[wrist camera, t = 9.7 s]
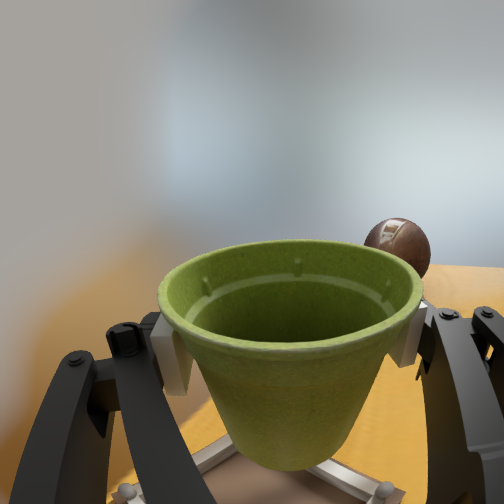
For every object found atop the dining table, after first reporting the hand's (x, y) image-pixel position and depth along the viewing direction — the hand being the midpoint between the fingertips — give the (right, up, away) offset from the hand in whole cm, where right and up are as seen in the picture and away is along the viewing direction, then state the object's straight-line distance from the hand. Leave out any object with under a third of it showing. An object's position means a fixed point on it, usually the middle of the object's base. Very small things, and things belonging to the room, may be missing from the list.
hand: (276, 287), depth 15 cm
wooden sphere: (+29, -6, +41) cm, 51 cm away
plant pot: (+1, -7, -3) cm, 8 cm away
